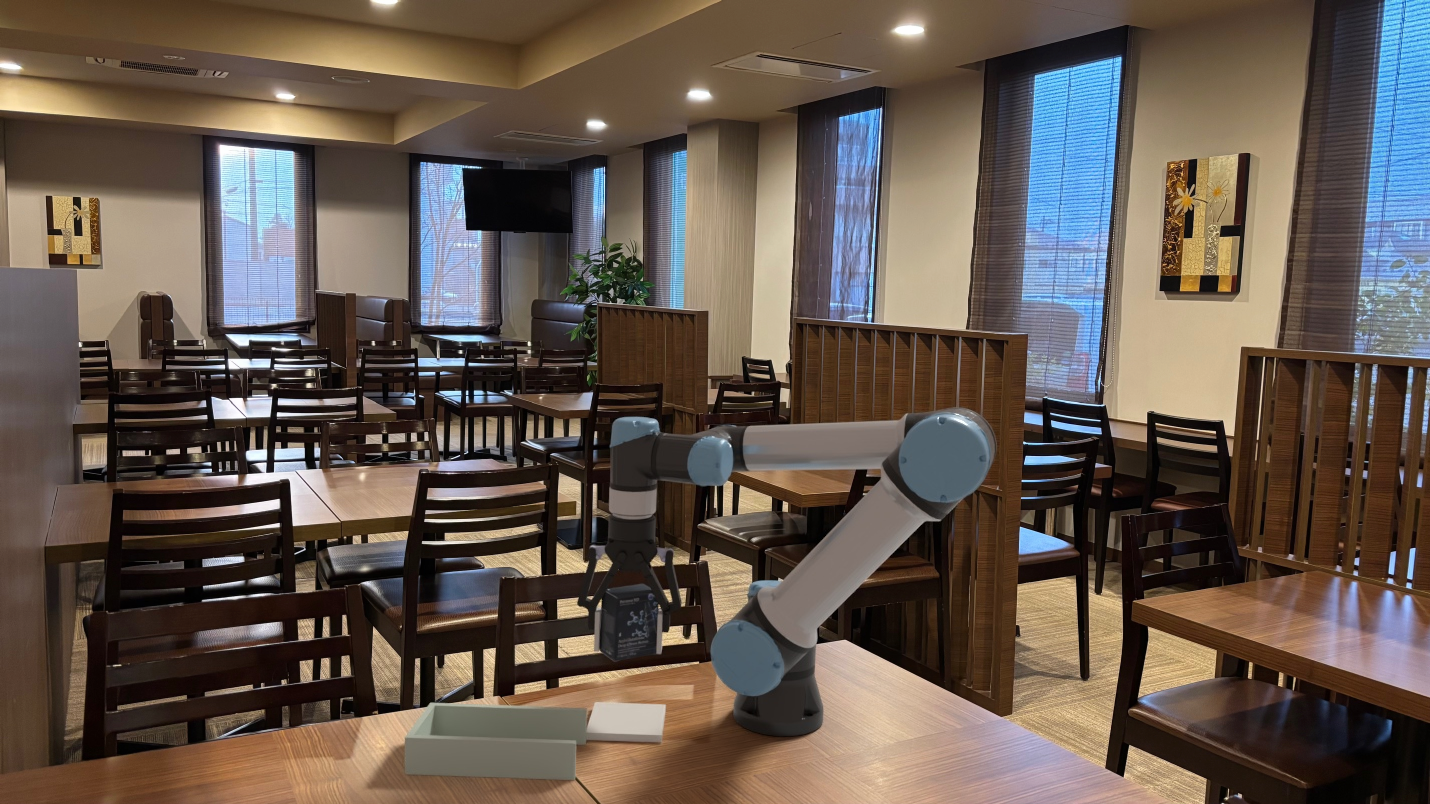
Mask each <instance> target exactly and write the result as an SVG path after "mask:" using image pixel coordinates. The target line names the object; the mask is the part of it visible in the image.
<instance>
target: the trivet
mask: <svg viewBox="0 0 1430 804" xmlns="http://www.w3.org/2000/svg"><path fill="white" fill-rule="evenodd" d="M666 709H667V704H663V703H662V704H660V703H632V702H631V703H630V702H604V701H602V702H600V701H594V704H593V708H592V710H591V714H590V716H589V720H588V722H587V732H586V741H605V742H606V741H610V742H612V741H613V742H635V743H636V742H637V743H638V742H639V743H659V744H660V743H661V744H662V742H663V733H664V726H665V719H666Z"/></svg>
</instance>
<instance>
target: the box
mask: <svg viewBox="0 0 1430 804" xmlns="http://www.w3.org/2000/svg"><path fill="white" fill-rule="evenodd" d="M600 602H601V606H600V607H601V627H600V649H599V652H600V653H602V654H603V655H604V656H606V657H607V658H609V659H610V660H611V661H612V662H619V661H621V660H622V661H623V660H628V659H634V658H640V657H644V656H645V657H646V656H650V655H651V656H652V655H653V656H655V655H657V654H656V652H657V621H658V611H659V609H660V608H659V607H660V606H659V604H658V602H657V600H656V598H655V596H654V594H653V592H652V590H651V588H650V586H649V585H647V584H645V583H638V584H633V585H632V584H631V585H624V586H617V587H611V588H610V587H608V588H607V590H606V592H605V593H604V595H603V597H602V599H601V601H600Z"/></svg>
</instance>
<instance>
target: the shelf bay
mask: <svg viewBox="0 0 1430 804" xmlns="http://www.w3.org/2000/svg"><path fill="white" fill-rule="evenodd" d="M587 720H588V708H587V707H564V706H562V707H561V706H537V705H535V706H533V705H531V706H530V705H510V704H509V705H506V704H505V705H504V704H479V703H475V704H473V703H451V702H449V703H448V702H430V703H429V704H428V705H427V706H426V708H425V709H424V711H422V714H421V715H420V716H419V718H418V719H417V720H416V721H415V723H414V724H413V726H412V727H411V728H410V729H409V731H408V733H406V735H405V737H404V775H413V776H415V775H417V776H423V775H424V776H442V777H443V776H444V777H445V776H446V777H471V778H473V777H474V778H477V777H478V778H497V779H498V778H501V779H502V778H503V779H526V780H528V779H532V780H559V781H575V780H576V775H577V774H576V772H577V771H576V769H577V768H576V767H577V745H580V746H586V744H587V740H586V732H587V726H588V721H587Z"/></svg>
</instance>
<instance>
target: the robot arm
mask: <svg viewBox="0 0 1430 804" xmlns="http://www.w3.org/2000/svg"><path fill="white" fill-rule="evenodd" d="M660 429H661V428H660V425H659V422H658V420H657V419H655V418H650V417H646V416H645V417H644V416H624V417H619V418H617V419H615V420H614V421H613V423H612V424H611V436H610V437H611V438H610V444H609V449H610V471H609V472H610V474H609V475H610V477H609V478H610V479H609V480H610V482H609V490H608V491H609V493H608V494H609V497H608V498H609V499H608V506H609V507H608V511H609V512H610V513H611V514H609V516H608V528H607V529H608V530H607V533H608V534H607V535H608V536H607V543H606V544H605V545H596V544H591V545H590V546H589V548H588V550H587V557H588V564H587V566H586V570H585V573H584V578H583V580H582V584H581V588H580V591H579V595H578V599H577V602H576V605H577V606H578V607H580V608H585V609H586V610H587V611H588V613H587V615H588V616H587V618H588V619H587V628H588V630H590V631H591V630H592V631H594V636H593V637H594V641H593V644H594V645H593V652H600V627H601V606H598V605H599V603H600V602H601V601H602V597H603V595H604V593H605V592H606V590H607V589H609V588H610V587H609V586H610V584H611V583H612V581H613V580H614V577H615V576H616V575H617V573H618V571H620V573H628V572H632V573H637V574H639V573H640V572H641V573H642V575H643V577H644V578H645V579H646V582H647V584H648V587H650V588H651V590H652V592H653V594H654V596H655V598H656V600H657V602H658V604H659V607H660V608H658V621H657V652H656V654H655V655H662V650H663V633H666V634H667V633H669V631H670V627H671V614H672V612H676V611H677V612H678V611H680V610H681V608H682V604H683V603H682V602H683V601H682V598H681V593H680V588H679V583H678V581H677V580H678V578H677V574H676V570H675V566H674V562H673V561H674V556H675V554H674V553H675V549H674V548H673V547H671V546H670V547H667V548H664V547H658V545H657V543H656V524H657V523H656V520H657V519H656V518H657V517H656V516H655V515H654V514H655V513H656V511H657V494H658V493H657V489H658V485H657V484H658V483H657V481H662V482H663V481H665V482H672V483H681V484H689V485H695V486H696V485H697V486H700V487H707V486H711V487H712V486H714V487H721V486H723V485H725V484H726V483H727V482H728V480H729V478H730V477H731V474H732V473H736V472H739V473H741V472H757V471H759V472H760V471H762V472H764V471H765V472H766V471H771V472H773V471H817V470H818V471H819V470H820V471H824V470H825V471H826V470H830V471H831V470H833V471H834V470H880V479H879V481H878V482H877V483H876V484H874V485H873V487H872V488H871V489H870V490H869V491H868V492H867V493H866V494H865V495H864V496H863V497H862V498H861V499H860V500H859V501H858V502H857V504H855V505H854V507H853V508H852V509H850V511H849V512H848V513H847V514H846V515H845V516H844V517H842V519H841V520H840V521H839V522H838V523H837V524H836V525H835V526H834V527H832V529H831V530H830V531H829V532H828V533H827V534H826V536H825V537H823V539H822V540H820V542H819V543H818V544H817V545H816V546H815V547H813V549H812V550H811V551H810V552H809V553H808V554H807V555H806V556H805V557H804V558H803V559H802V560H801V561H800V562H799V563H798V564H797V565H796V566H795V568H793V569H792V570H791V572H790V573H789V574H788V575H786V576H785V577H784V579H783V580H771V579H770V580H767V579H766V580H757V581H754V582H752V583H750V584H749V586H748V593H746V596H747V603H746V604H745V605H744V606H742V608H741V609H739V611H738V612H737V613H736V614H735V615H734V616H733V617H732V618H731V619H729V621H727V622H725V623H723V624H722V625H721V626H720V627H719V628H718V630H717V632H716V633H715V635H714V637H713V638H712V642H711V645H710V658H711V665H712V668H713V670H714V672H715V674H716V676H717V677H718V679H719V680H720V682H722V683H723V684H724V685H725V686H726V687H727V688H728V689H730V690H731V691H733V692H735V693H736V695H735V698H734V701H733V711H732V712H733V719H734V720H735V722H736V723H737V724H738V725H739V726H740V727H743V728H744V729H747V731H751V732H754V733H758V734H762V735H767V736H775V737H793V736H801V735H806V734H810V733H812V732H815V731H816V730H817V729H819V728H820V727H821V726H822V724H823V723H824V710H825V709H824V704H823V700H822V696H821V693H820V689H819V686H818V682H817V679H816V671H815V670H816V658H817V657H816V654H817V651H816V650H817V642H818V628H819V627H820V626H821V625H823V623H824V622H825V621H826V620H827V619H828V618H829V617H831V615H832V614H833V613H834V612H835V611H836V610H837V609H838V608H840V606H841V605H842V604H843V603H845V601H846V600H847V599H848V598H849V597H850V596H851V595H852V594H853V593H855V592H856V590H857V589H859V587H860V586H861V585H862V584H863V583H865V581H867V580H868V578H870V576H871V575H872V574H873V573H875V571H877V569H879V568H880V567H881V566H882V564H883V563H884V562H886V560H888V559H889V558H890V556H891V555H893V553H895V551H897V549H899V548H900V546H901V545H902V544H903V543H904V542H905V541H907V540H908V538H910V537H911V536H912V535H913V534H914V532H916V531H917V529H919V527H920V526H921V525H923V524H924V523H925V522H941V521H942V520H943V519H944V518H945V517H946V516H947V515H948V514H950V512H951V511H952V510H953V509H954V508H956V507H957V506H958V505H959V503H961V502H962V501H963V499H965V498H967V497H968V496H970V495H971V494H973V493H974V492H975V491H976V490H977V489H978V488H980V486H981V485H982V484H983V482H984V481H985V479H986V477H987V475H988V474H989V470H990V469H991V468H992V466H993V464H994V462H995V459H996V455H997V445H998V444H997V438H996V434H995V431H994V430H993V427H992V426H991V425H990V423H989V422H988V420H986V418H985V417H983V416H982V415H981V414H979V413H977V412H976V411H974V410H971V409H968V408H965V407H953V406H952V407H948V408H944V409H943V408H942V409H938V410H933V411H927V412H926V411H924V412H913V413H908V412H907V413H905V414H904V415H903V416H901V418H900V419H898V420H874V421H873V420H871V421H849V422H843V421H842V422H822V423H819V422H818V423H817V422H816V423H815V422H814V423H796V424H794V423H792V424H791V423H789V424H765V425H764V424H763V425H750V426H745V425H744V426H738V425H733V424H732V425H731V424H723V425H722V424H721V425H717V426H715V427H712V428H711V429H708V430H707V429H706V430H704V431H700V432H696V433H693V434H679V433H678V434H676V433H667V432H661V431H660ZM603 554H605V555H606V556H607V557H608V559H609V561H611V563H612V564H611V565H610V567H609V569H608V570H607V572H606V574H605V576H604V578H603V579H602V581H601V582H600V584H599V586H598V588H597V589H596V592H595V593H594V595H593V596H592V598H589V597H588V595H589V593H590V589H591V585H592V582H593V579H594V574H595V572H596V568H597V565H598V561H600V560H601V559H602V558H603V557H602V556H603ZM656 556H658V557H659V559H660V561H661V562H662V563H664V570H665V574H666V575H665V576H666V579H667V584H668V588H669V593H670V597H671V601H669V600H668V597H667V596H666V593H665V591H664V588H662V587H663V586H662V585H661V583H660V581H659V579H658V577H657V575H656V573H655V570H654V568H653V566H652V564H651V562H652V561H653V560H654V559H655V558H656Z"/></svg>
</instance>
